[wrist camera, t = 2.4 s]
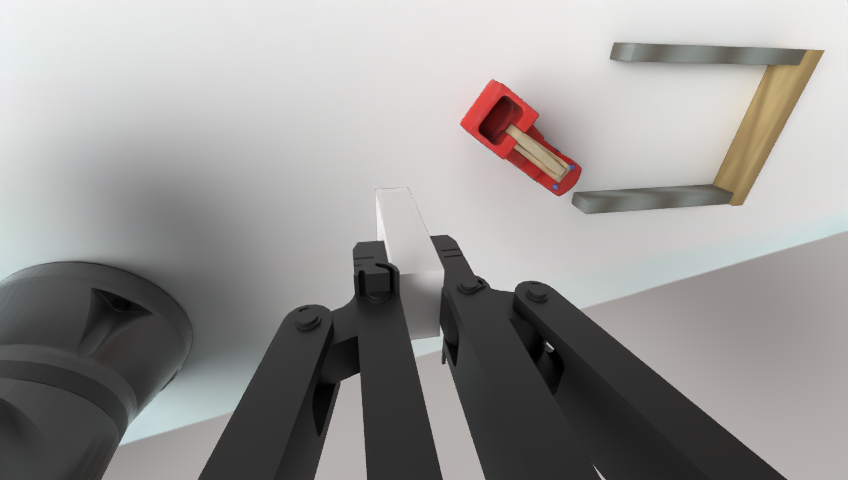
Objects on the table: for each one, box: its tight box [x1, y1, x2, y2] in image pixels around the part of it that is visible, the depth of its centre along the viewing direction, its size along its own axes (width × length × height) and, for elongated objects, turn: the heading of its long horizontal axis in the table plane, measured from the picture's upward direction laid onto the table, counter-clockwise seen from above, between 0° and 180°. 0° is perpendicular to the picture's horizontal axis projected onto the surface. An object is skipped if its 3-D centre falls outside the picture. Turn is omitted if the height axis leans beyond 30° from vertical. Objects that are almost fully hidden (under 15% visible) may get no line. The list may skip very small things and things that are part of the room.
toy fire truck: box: [460, 79, 581, 196], centre depth 27 cm, size 3×14×10 cm, turn 54°
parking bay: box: [572, 43, 825, 214], centre depth 33 cm, size 18×14×3 cm
